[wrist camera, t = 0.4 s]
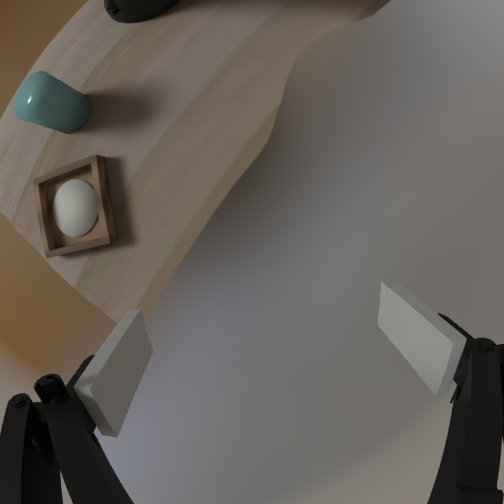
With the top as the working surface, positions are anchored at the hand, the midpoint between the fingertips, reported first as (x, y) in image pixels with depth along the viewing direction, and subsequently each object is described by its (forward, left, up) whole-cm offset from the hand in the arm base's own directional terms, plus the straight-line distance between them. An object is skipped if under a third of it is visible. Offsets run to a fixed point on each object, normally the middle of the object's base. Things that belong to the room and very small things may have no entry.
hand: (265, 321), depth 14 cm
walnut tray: (-10, -26, -26) cm, 38 cm away
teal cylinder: (-26, -25, -26) cm, 45 cm away
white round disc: (-10, -26, -26) cm, 38 cm away
